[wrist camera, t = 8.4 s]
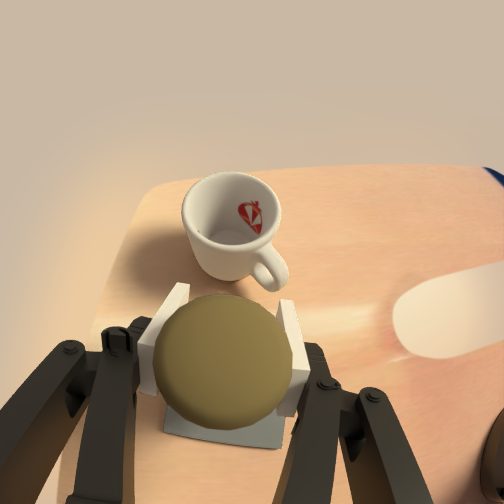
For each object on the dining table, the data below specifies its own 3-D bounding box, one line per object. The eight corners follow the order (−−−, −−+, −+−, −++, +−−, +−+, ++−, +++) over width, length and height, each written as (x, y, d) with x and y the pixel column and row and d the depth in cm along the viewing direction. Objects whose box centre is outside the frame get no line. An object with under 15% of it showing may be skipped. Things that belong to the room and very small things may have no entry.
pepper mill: (173, 340, 20) (133, 272, 10) (260, 336, 20) (300, 265, 11) (179, 426, 17) (135, 447, 7) (270, 420, 18) (327, 432, 8)
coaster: (291, 341, 27) (293, 340, 26) (279, 447, 22) (281, 448, 21) (183, 325, 26) (182, 323, 26) (164, 431, 21) (162, 431, 21)
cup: (303, 280, 30) (327, 238, 23) (242, 330, 27) (250, 301, 20) (234, 210, 33) (238, 157, 26) (174, 249, 30) (162, 199, 23)
